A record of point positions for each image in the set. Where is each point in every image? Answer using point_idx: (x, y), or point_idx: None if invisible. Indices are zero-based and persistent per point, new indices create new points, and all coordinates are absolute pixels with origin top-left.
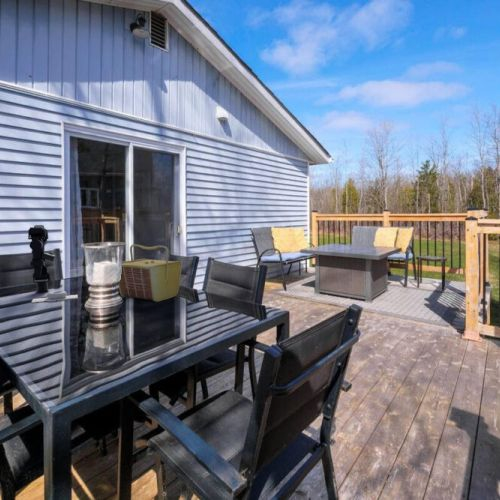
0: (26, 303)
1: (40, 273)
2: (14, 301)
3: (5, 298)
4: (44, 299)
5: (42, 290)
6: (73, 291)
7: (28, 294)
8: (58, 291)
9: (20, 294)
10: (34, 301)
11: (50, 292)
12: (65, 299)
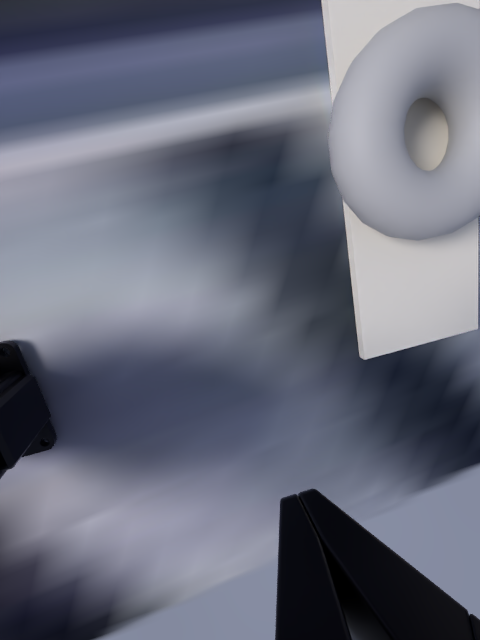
0: (459, 361)
1: (368, 531)
2: (357, 470)
3: (228, 575)
4: (427, 252)
5: (35, 396)
6: (8, 10)
7: (103, 483)
8: (402, 114)
9: (88, 546)
10: (467, 313)
11: (446, 199)
12: None
